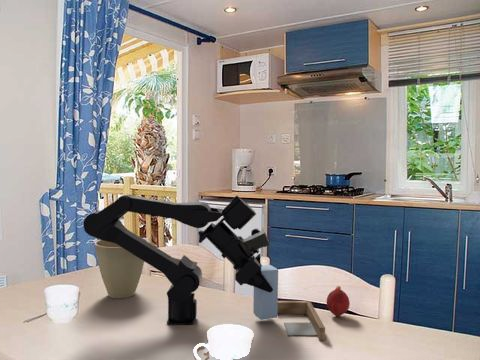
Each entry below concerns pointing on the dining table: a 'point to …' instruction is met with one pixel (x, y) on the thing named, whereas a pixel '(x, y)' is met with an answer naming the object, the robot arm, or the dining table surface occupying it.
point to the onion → (338, 302)
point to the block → (267, 295)
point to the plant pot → (118, 269)
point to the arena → (302, 328)
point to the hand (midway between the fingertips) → (271, 287)
